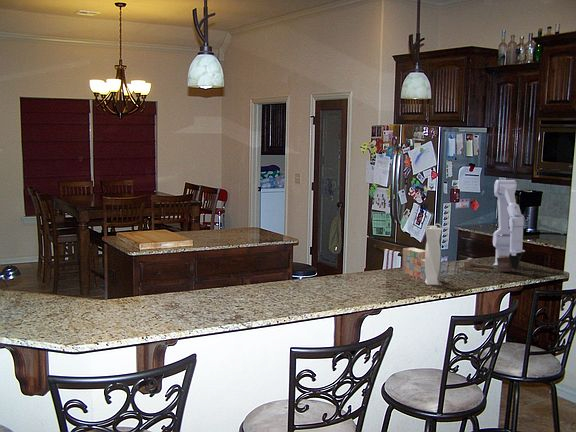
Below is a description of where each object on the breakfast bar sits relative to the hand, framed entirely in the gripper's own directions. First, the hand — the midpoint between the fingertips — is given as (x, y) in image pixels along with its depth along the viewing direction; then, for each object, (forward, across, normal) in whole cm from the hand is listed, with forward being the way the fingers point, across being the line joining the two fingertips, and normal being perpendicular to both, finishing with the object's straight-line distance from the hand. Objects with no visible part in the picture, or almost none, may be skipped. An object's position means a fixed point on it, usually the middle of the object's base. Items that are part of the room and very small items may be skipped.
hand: (515, 268), depth 315 cm
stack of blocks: (+2, -31, +38) cm, 49 cm away
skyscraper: (+3, -44, +29) cm, 52 cm away
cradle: (+2, +1, +17) cm, 17 cm away
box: (+2, +1, +4) cm, 5 cm away
